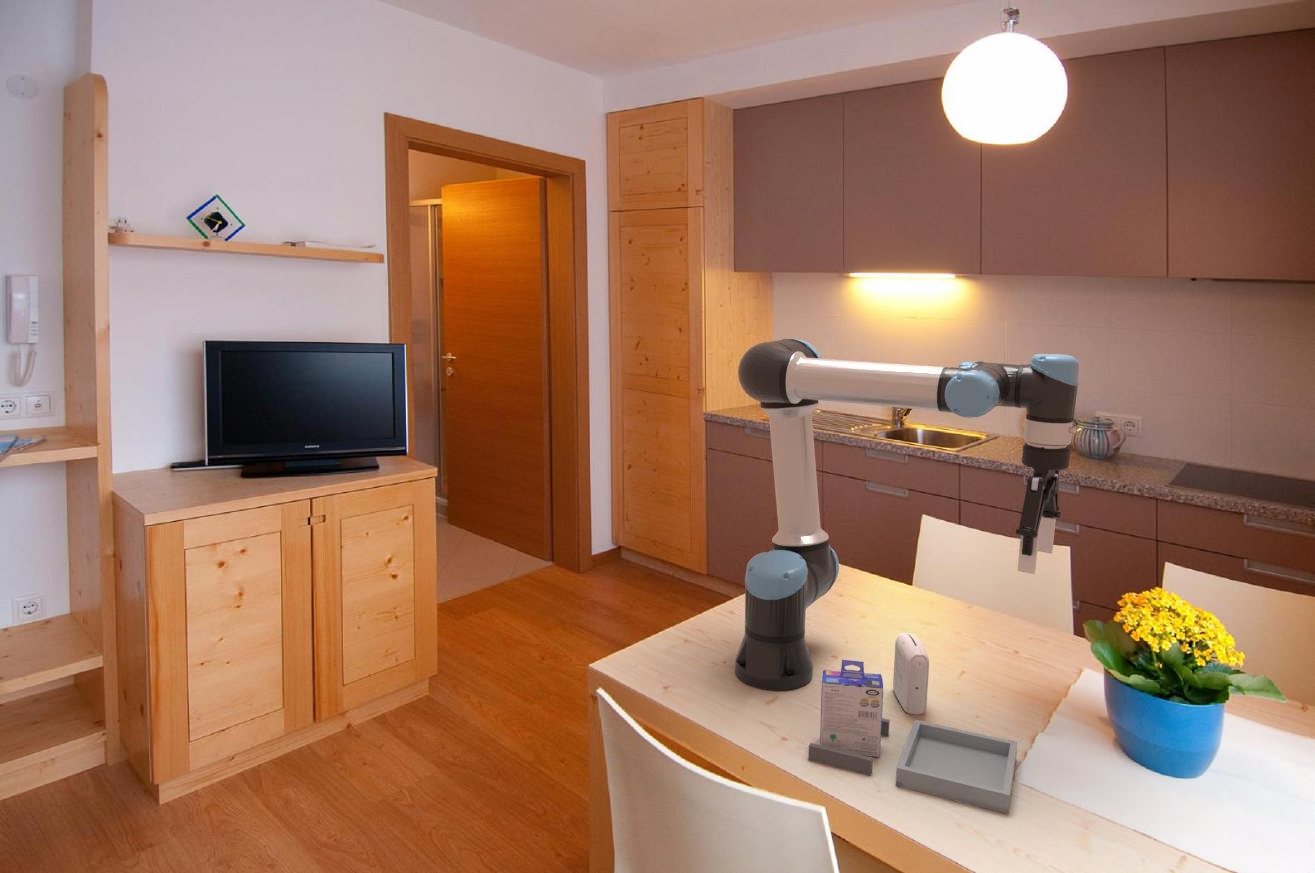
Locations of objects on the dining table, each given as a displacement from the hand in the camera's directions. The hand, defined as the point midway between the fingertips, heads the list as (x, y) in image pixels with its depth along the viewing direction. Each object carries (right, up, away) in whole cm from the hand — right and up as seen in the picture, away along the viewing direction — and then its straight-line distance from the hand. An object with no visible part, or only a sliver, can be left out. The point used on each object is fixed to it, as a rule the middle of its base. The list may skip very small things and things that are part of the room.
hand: (1035, 561), depth 151 cm
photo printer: (-21, -27, +5) cm, 34 cm away
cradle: (-35, -29, -10) cm, 47 cm away
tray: (-20, -31, -17) cm, 40 cm away
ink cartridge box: (-35, -29, -10) cm, 47 cm away
